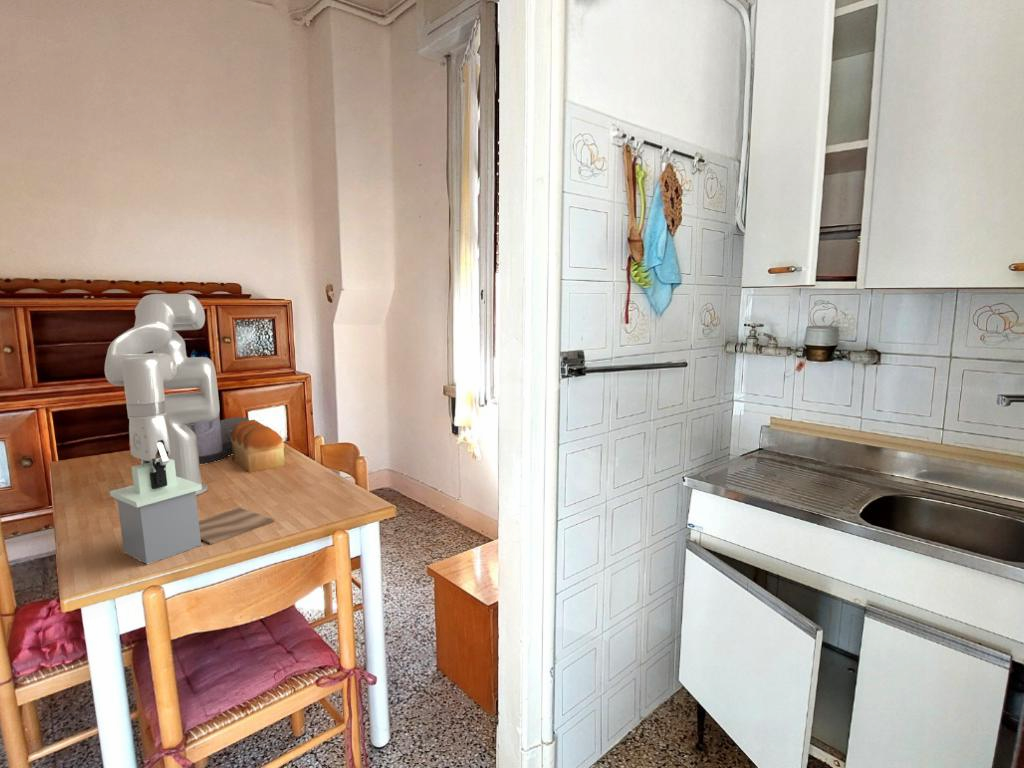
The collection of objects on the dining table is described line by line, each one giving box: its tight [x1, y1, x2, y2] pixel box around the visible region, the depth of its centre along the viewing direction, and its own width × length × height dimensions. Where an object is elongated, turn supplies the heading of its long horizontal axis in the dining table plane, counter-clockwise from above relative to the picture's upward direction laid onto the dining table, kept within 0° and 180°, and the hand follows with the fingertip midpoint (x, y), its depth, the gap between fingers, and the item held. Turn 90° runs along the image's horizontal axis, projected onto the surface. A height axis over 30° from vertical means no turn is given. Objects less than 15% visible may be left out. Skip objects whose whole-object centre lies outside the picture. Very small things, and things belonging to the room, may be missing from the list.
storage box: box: [116, 491, 202, 565], centre depth 132 cm, size 12×12×14 cm
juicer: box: [185, 415, 249, 465], centre depth 217 cm, size 30×16×24 cm, turn 156°
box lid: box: [109, 458, 202, 507], centre depth 130 cm, size 14×14×8 cm
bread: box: [230, 419, 286, 474], centre depth 206 cm, size 25×12×15 cm, turn 40°
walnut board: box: [199, 507, 275, 545], centre depth 146 cm, size 17×17×1 cm
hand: (155, 485), depth 131 cm, fingers closed on box lid, 3 cm apart
